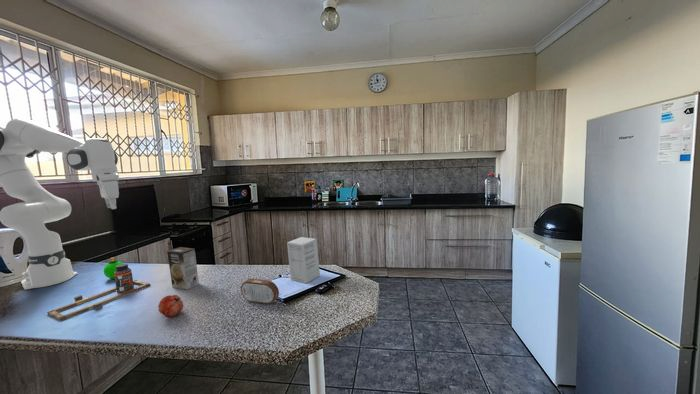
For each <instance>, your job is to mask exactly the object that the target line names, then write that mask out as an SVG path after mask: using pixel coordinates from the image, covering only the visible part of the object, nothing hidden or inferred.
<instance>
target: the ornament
mask: <svg viewBox="0 0 700 394" xmlns="http://www.w3.org/2000/svg"><path fill="white" fill-rule="evenodd" d="M120 264H123V262H121V261H118V260H116V259H115V257H110V262H108V263H107V264H106V265H104V268H103V270H102V272H103V275H104V276H105V277H106V278H109V279H112V280H113V279H114V280H115V277H114V272H115V271H116V270H117V269H116V266H117V265H120Z"/></svg>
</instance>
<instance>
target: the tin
mask: <svg viewBox="0 0 700 394" xmlns="http://www.w3.org/2000/svg"><path fill="white" fill-rule="evenodd" d="M240 291H241V295H242V297H243V298H244V299H245V300H246V301H248V302H252V303H257V304H258V303H259V304H264V305H269V304H270V305H271V304H272V303H274V302H275V301H276V300H278V298H279V296H280V292H279V291H280V290H279V288H278V286H277V285H276V283H274V282H273V281H272V280H268V279H260V278H248V279H246V280H245V281H243V283H241V286H240Z"/></svg>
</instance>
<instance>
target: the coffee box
mask: <svg viewBox="0 0 700 394" xmlns="http://www.w3.org/2000/svg"><path fill="white" fill-rule="evenodd" d="M166 253H167V259H168V266H169V273H170V279H171V286H172V288H175V289H183V290H190V289H191V288H193V287H196V286H197V285H199V284H200V283H199V282H200V281H199V275H198V266H197V265H198V264H197V257H196V251H195V248H193V247H191V248H190V247H183V246H180V247H176V248H173V249H170V250H167V252H166Z"/></svg>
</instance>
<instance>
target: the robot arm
mask: <svg viewBox="0 0 700 394" xmlns="http://www.w3.org/2000/svg"><path fill="white" fill-rule="evenodd" d="M40 152H42V153H67V154H66V162H67V164H68V166H69V167H70V168H72V169H73V170H74V171H81V172H83V171H90V173H91V174H90V175H91V179H92V181H93V182H94V183H95V182H96V183H97V186H98V187H99V192H100V193H99V194H100V197H101V198H102V199H103V198H104V201H105V204H106V207H107V209H111V210H116V209H117V199H118V198H119V196H120V192H119V180H120V177H119V170H118V167H117V164H118V162H119V157H118V155H117V153H116V152H115V150H114V148H113V145H112V143H111V141H110V140H109V139H106V138H99V137H98V138H96V137H90V138H89V137H88V138H87V139H86V140H85V141H84V140H80V139H78V138H75V137H71V136H70V135H67V134H64V133H62V132H59V131H57V130H54V129H52V128H51V127H48V126H46V125H43V124H42V123H39V122H36V121H35V120H34V121H33V120H30V119H27V118H26V119H25V118H19V117H18V118H14V119H11V120H9V122H7V124H6V126H5V128H4V129H0V186H1V188H2V189H3V190H4V192H5V193H6V194H7V196H10V197H11V198H15V199H18V200H21V201H22V202H17V203H14V204H10V205H7V206H4V207H2V208H1V210H0V223H1V224H2V225H3V226H5V227H7V228H9V229H11V230H14V231H15V232H17V233H19V234H20V235H21V237H22V238H23V240H24V241H25V243H26V247H27V251H28V259H27V260H28V264H29V265H28V266H27V269H26V270H25V271H24V272H22V273H21V276H22V278H23V279H22V280H21V283H20V284H21V285H22V288H23V290H30V289H37V288H45V287H49V286H53V285H58V284H61V283H63V282H67V281H69V280H70V279H72V278H73V277H75V276H77V275H78V272H77V271H74V270H73V266H72V262H71V259H68V258H67V257H66V252H65V249H63V245H62V240H61V236H60V234H59V233H58V232H56V231H52V230H49V229H48V228H47V227H46V224H47V223H52V222H58V221H59V220H62V219H64V218H65V219H66V218H67V217H69V216H70V215H71V213H72V205H71V203H70V202H69V201H68V200H66V199H65V198H62V197H59V196H56V195H54V194H53V193H51V192H49V191H48V190H46V189H45V188H44V187H43V186H42V185H41V184H40V183H39V181H38V179H37V178H36V177H35V176H34V174H33V172H32V171H31V169H30V168H29V166H28V165H27V163H26V160H25V159H26V158H28V159H30V158H34V156H35V155H36V154H38V153H40ZM24 278H25V279H24Z"/></svg>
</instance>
